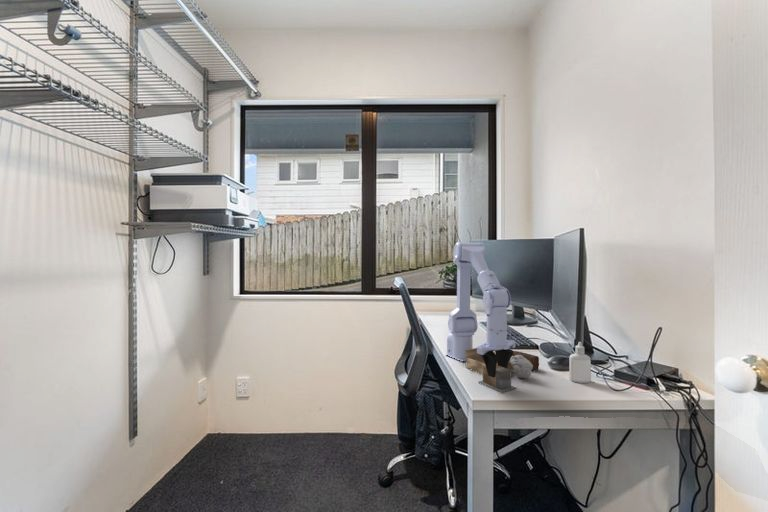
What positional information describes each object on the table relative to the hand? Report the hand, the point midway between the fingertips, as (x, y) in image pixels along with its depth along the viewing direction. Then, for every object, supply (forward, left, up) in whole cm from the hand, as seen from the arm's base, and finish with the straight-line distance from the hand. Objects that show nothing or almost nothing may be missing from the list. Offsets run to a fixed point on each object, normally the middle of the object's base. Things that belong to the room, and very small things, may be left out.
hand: (496, 374), depth 101 cm
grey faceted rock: (0, +12, -3) cm, 12 cm away
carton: (-11, +11, -3) cm, 16 cm away
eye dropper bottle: (+11, +25, -3) cm, 27 cm away
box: (0, 0, -3) cm, 3 cm away
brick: (-7, +21, -4) cm, 23 cm away
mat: (0, 0, -3) cm, 3 cm away
